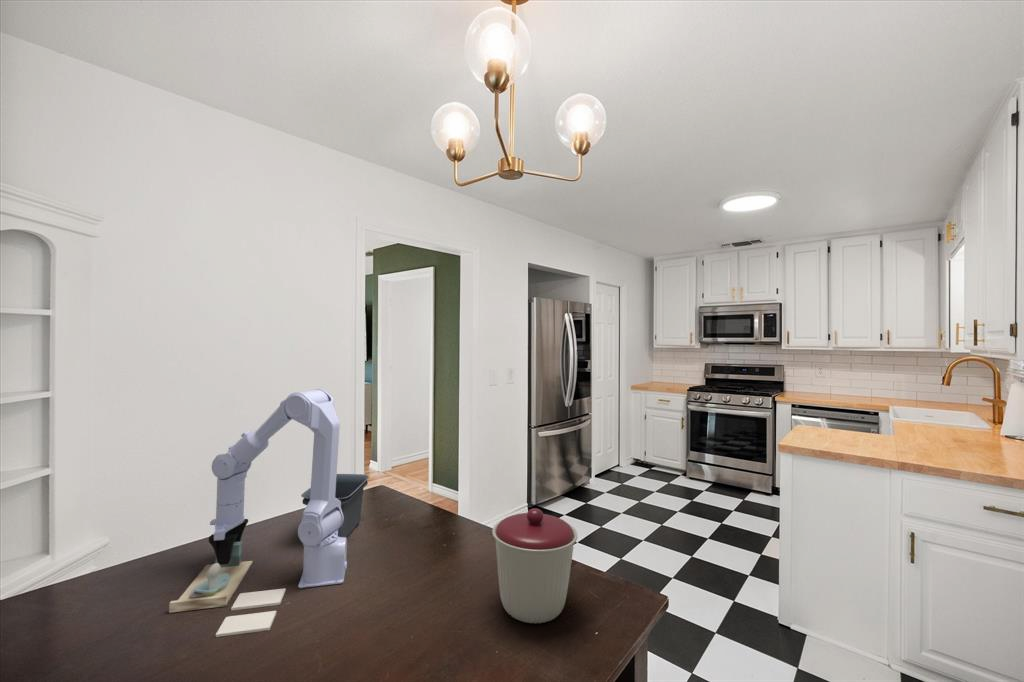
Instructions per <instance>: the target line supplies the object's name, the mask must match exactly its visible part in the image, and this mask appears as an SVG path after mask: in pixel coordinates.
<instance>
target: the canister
mask: <svg viewBox="0 0 1024 682" xmlns="http://www.w3.org/2000/svg"><path fill="white" fill-rule="evenodd" d="M491 533H492V536H493V538H494V540H495V549H496V552H495V554H496V565H497V576H498V586H499V596H500V601H501V603H502V606H503V609H504V610H505V612H506V613H507V614H508V615H509V616H510V615H511V616H510V617H512V619H515V620H517V621H519V622H523V623H528V624H533V623H534V624H537V623H538V624H543V623H547V622H551V621H552V620H555V619H556V618H557V617H558V616H560V614H561V613H562V611H563V609H564V607H565V604H566V602H567V601H566V599H567V595H568V589H569V582H570V576H571V575H570V574H571V567H572V560H573V554H574V553H573V552H574V544H575V543H576V542H577V540H578V532H577V530H576V528H574V526H573V525H571V524H570V523H568V522H567V521H565V520H564V519H563V518H560V517H557V516H554V515H550V514H546V513H543V511H542V510H541V509H539V508H531V509H528V511H527V512H523V513H518V514H517V513H516V514H512V515H510V516H507V517H505V518H503V519H502V520H499V521H498V522H496V524H494V525H493V527H492V531H491Z"/></svg>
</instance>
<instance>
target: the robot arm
mask: <svg viewBox="0 0 1024 682" xmlns="http://www.w3.org/2000/svg"><path fill="white" fill-rule="evenodd" d="M334 402H335V399H334V398H333V396H332V395H330V393H328V392H327V391H326V390H324V389H322V388H316V389H313V390H307V391H299V392H298V391H297V392H292V393H290V394H289V395H288V396H287V397H286V399H284V400H282V401H280V404H279V406H278V407H277V408H276V409H275V410H274V412H273V413H271V415H269V416H268V418H267V419H266V420H265V421H264V422H263V423H262V424H261V425H260V427H259V428H258V429H256V430H255V429H252V430H249V431H244V432H243V433H242V434H240V437H241V438H240V439H238V441H237V442H235V444H233V445H230V446H229V447H228V450H227V452H226V453H220V454H217V455H216V456H215V457H214V459H213V460H212V462H211V472H212V474H213V475H214V476H215V477H216V478H217V479H216V480H217V481H216V504H215V505H216V507H215V518H214V519H211V521H209V525H210V526H214V532H213V534H210V536H209V537H208V542H209V544H210V545H211V547H212V548H213V550H214V553H215V559H216V558H217V562H218V563H219V564H220V565H224V564H228V563H229V562H230V558H231V553H232V548H233V544H234V542H241V541H242V536H243V534H244V530H245V528H246V526H247V524H248V522H249V518H245V490H246V487H245V485H246V484H245V483H246V482H245V481H246V478H247V477H248V476H247V475H248V474H247V473H248V471H249V470H250V469H251V465H252V462H253V461H254V460H255V459H256V458H257V457H258V456H259V455H261V453H263V452H264V451H265V450H266V449H267V448H268V447H269V444H270V443H269V442H270V441H269V439H270V438H272V436H275V434H276V433H277V432H279V431H280V430H281V429H282V428H284V427H285V426H286V425H287V424H288V423H289V422H291V421H295V422H297V423H299V424H301V425H303V426H305V427H307V428H308V429H310V431H311V432H312V433H313V447H312V461H311V462H312V464H311V478H310V488H311V491H310V501H309V503H308V505H305V508H304V510H303V512H302V519H301V520H300V521H301V522H300V523H299V524H298V527H297V536H298V538H299V541H301V543H302V546H303V564H302V565H303V567H302V569H303V571H302V575H301V578H300V581H299V583H298V586H297V587H298V588H299V589H303V588H304V589H305V588H311V587H313V588H314V587H321V586H330V585H338V584H343V583H344V582H345V581H344V580H345V575H346V570H347V567H348V561H347V548H348V546H347V544H348V540H347V539H348V537H347V538H346V537H338V529H339V528H340V527H341V525H342V524H343V520H344V516H343V513H342V510H341V501H340V500H338V499H337V498H335V491H336V475H337V474H338V473H337V470H338V459H339V457H338V456H339V455H338V454H339V445H340V444H339V443H340V430H341V429H340V420H339V417H338V414H337V412H336V409H335V407H334Z"/></svg>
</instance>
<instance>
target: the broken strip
mask: <svg viewBox="0 0 1024 682" xmlns="http://www.w3.org/2000/svg"><path fill="white" fill-rule="evenodd" d="M285 593H286V588H278V589H277V588H275V589H268V590H267V589H266V590H261V591H259V590H258V591H251V592H250V591H249V592H242V593H241V592H240V593H239V595H238V596H237V598H236V599H235V601H234V603H233V605H232V606H231V608H230V609H231V610H230V611H232V612H233V611H239V610H246V609H247V610H248V609H256V608H263V607H264V608H265V607H272V606H279V605H281V603H282V601H283V598H284V595H285ZM276 615H277V610H270V611H264V612H254V613H248V614H238V615H229V616H225V618H224V620H223V621H222V623H221V625H220V627H219V628H218V630H217V631H216V633H215V638H220V637H221V638H222V637H227V636H235V635H243V634H249V633H257V632H264V631H270V630H271V628H272V627H271V626H272V625H273V623H274V620H275V618H276Z"/></svg>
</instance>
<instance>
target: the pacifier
mask: <svg viewBox="0 0 1024 682" xmlns="http://www.w3.org/2000/svg"><path fill="white" fill-rule="evenodd" d="M211 565H212V564H211ZM220 569H221V567H220V564H219V563H213V565H212V566H211V567H210V569H209V570H208V572H207V576H206V577H207V579H208V581H206V582H205V583H203V584H201V585H200V586H198V587H196V588H195V589H194V590H193V591H191V593H190V595H189V596H190V597H191V598H197V597H202V596H204V597H206V596H211V595H213V594H215V593H217V592H218V591H219V589H221V588H223V587H224V586H225V585H227V583H228V582H229V580H230V575H229V574H228V573H223V574H219V572H220ZM218 574H219V575H218ZM223 581H225V582H224V583H222V582H223ZM196 592H198V593H200V594H195V593H196Z"/></svg>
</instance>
